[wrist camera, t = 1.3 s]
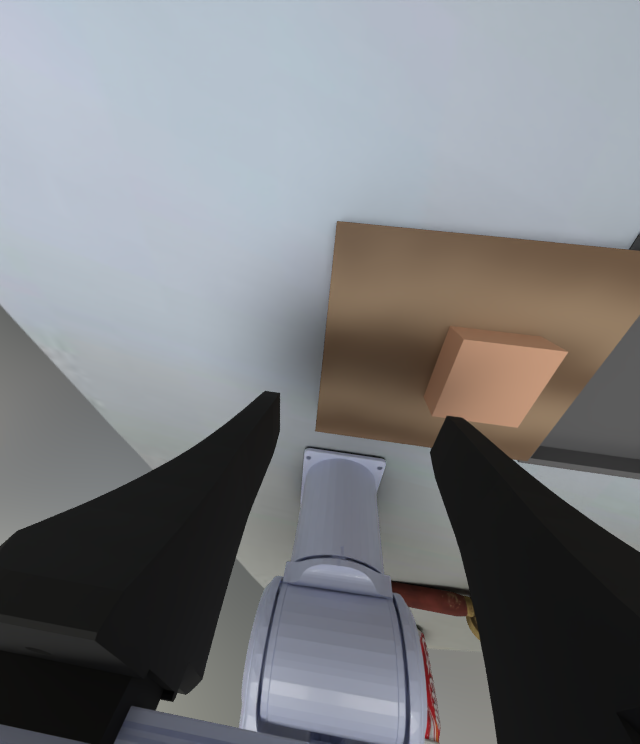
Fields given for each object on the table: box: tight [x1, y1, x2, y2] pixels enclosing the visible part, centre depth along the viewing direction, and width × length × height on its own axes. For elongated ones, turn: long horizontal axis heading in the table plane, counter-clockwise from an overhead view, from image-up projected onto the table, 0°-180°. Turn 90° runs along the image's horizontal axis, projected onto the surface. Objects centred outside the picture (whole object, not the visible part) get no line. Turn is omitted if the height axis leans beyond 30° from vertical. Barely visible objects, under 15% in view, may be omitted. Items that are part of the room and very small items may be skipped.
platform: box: [315, 221, 640, 461], centre depth 16 cm, size 14×16×3 cm
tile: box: [424, 326, 568, 428], centre depth 14 cm, size 5×5×2 cm
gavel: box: [391, 581, 480, 640], centre depth 35 cm, size 21×5×10 cm
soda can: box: [417, 628, 441, 744], centre depth 40 cm, size 7×7×12 cm
